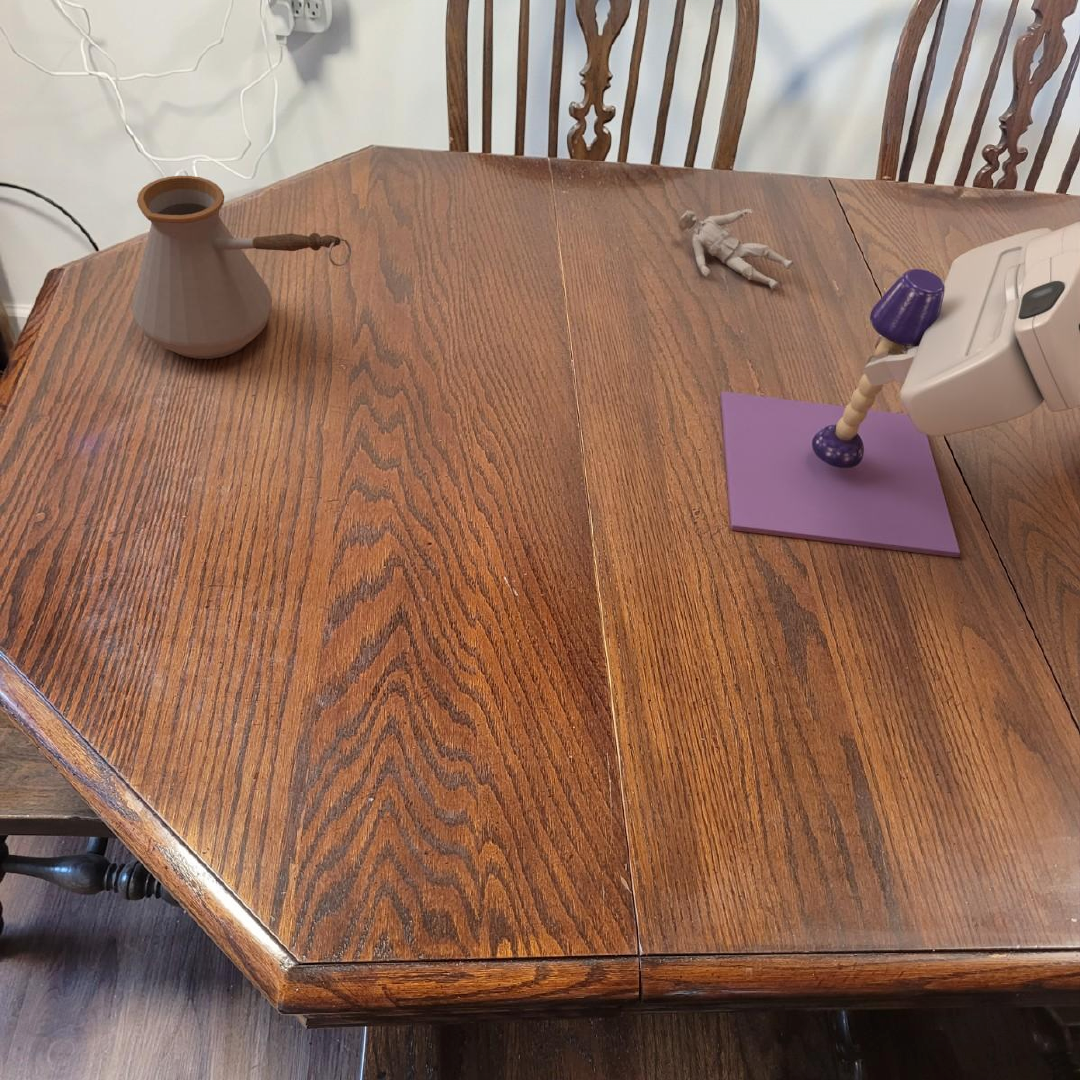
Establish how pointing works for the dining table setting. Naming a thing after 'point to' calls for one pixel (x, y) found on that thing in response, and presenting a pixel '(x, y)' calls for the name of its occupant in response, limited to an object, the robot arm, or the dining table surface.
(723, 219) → the soldier figure
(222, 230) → the coffee pot
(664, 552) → the dining table surface
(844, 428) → the toy lamp
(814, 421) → the mat
